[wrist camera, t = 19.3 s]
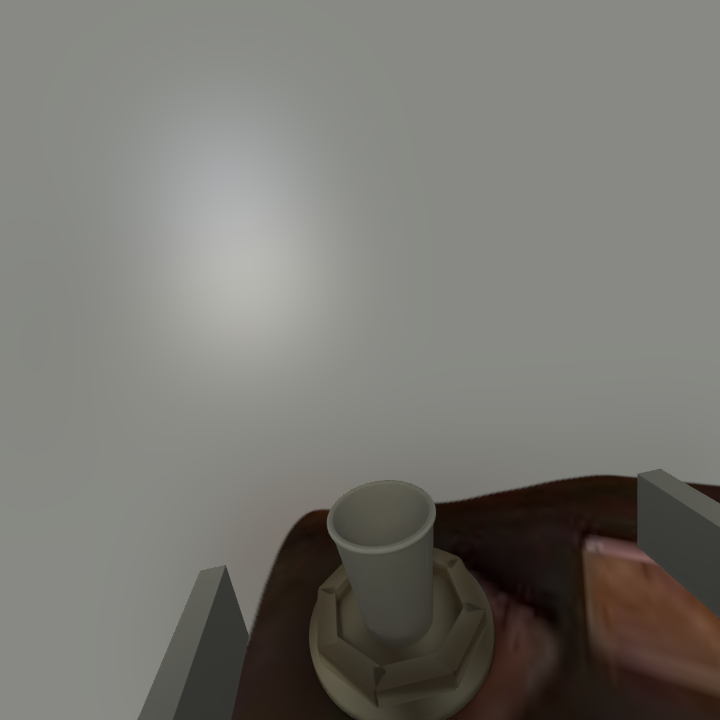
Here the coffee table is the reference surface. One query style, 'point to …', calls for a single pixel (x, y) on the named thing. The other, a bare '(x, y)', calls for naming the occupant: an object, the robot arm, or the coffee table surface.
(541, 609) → the coffee table surface
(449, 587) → the rimmed coaster
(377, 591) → the dixie cup
